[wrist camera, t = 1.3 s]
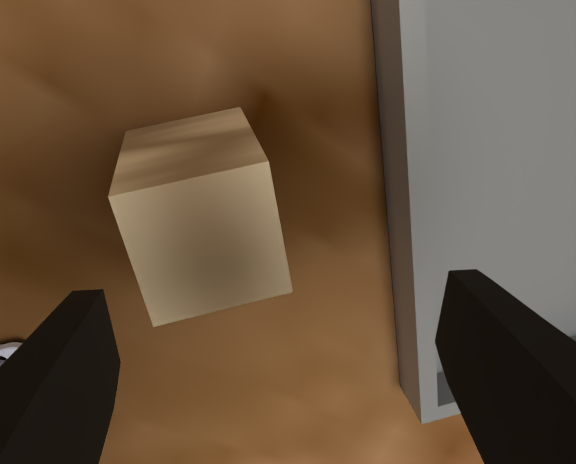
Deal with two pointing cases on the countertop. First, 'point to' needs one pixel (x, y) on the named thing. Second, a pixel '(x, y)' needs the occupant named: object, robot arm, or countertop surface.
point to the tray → (475, 164)
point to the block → (199, 216)
